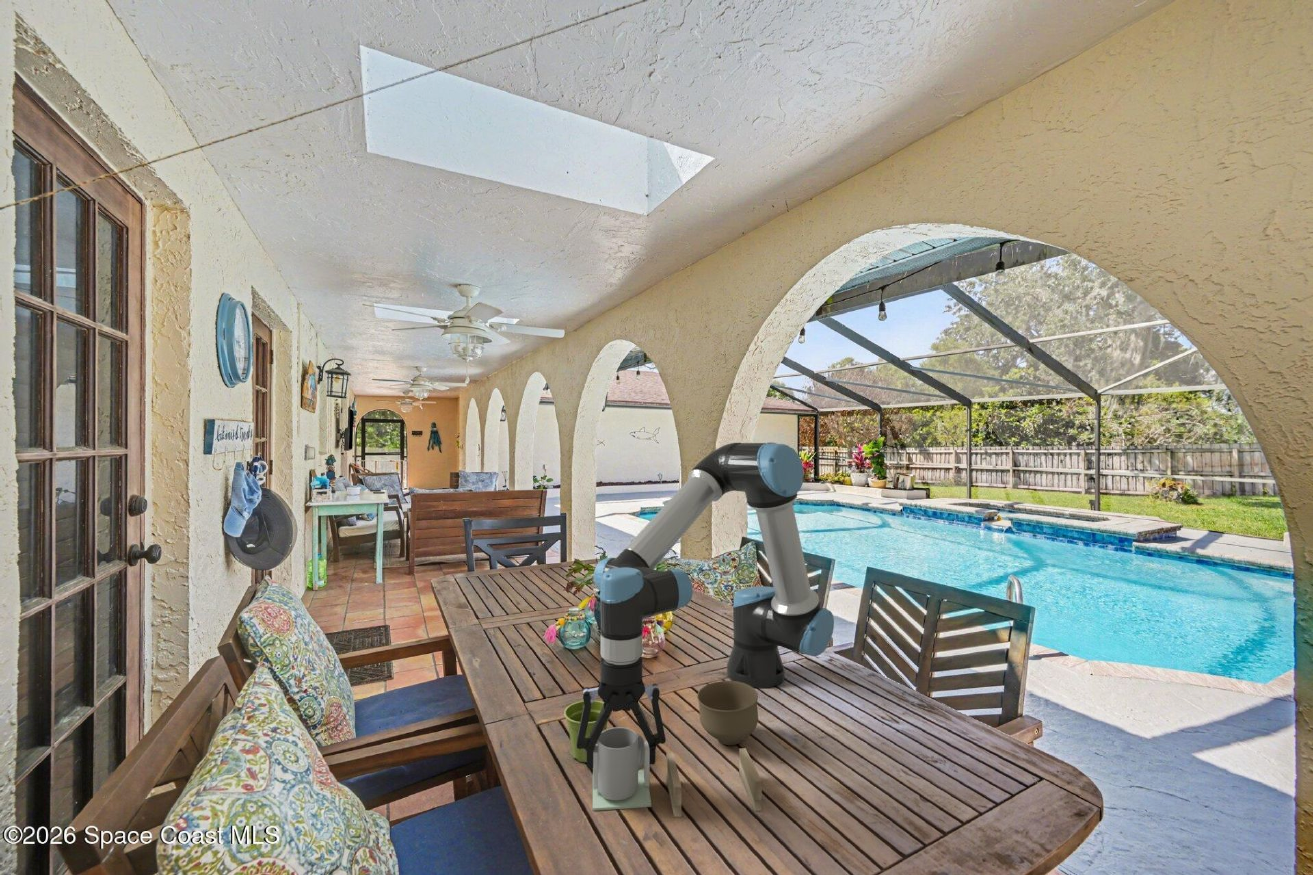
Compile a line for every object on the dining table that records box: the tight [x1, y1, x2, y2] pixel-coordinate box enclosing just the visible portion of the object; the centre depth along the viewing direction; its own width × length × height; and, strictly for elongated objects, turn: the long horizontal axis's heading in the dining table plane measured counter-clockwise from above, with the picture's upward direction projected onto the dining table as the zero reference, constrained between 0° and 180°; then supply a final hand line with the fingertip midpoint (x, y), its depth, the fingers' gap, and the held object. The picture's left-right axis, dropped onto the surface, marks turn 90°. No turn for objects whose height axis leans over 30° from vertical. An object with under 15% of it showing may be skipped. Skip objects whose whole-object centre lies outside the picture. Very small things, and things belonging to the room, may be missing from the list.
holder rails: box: [665, 747, 763, 818], centre depth 98 cm, size 15×10×5 cm, turn 97°
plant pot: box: [563, 700, 612, 763], centre depth 110 cm, size 9×9×9 cm
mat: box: [592, 769, 652, 812], centre depth 99 cm, size 10×10×1 cm
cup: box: [598, 726, 645, 800], centre depth 99 cm, size 7×10×9 cm
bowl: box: [696, 680, 759, 746], centre depth 115 cm, size 13×13×10 cm
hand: (621, 782), depth 99 cm, fingers closed on cup, 8 cm apart
